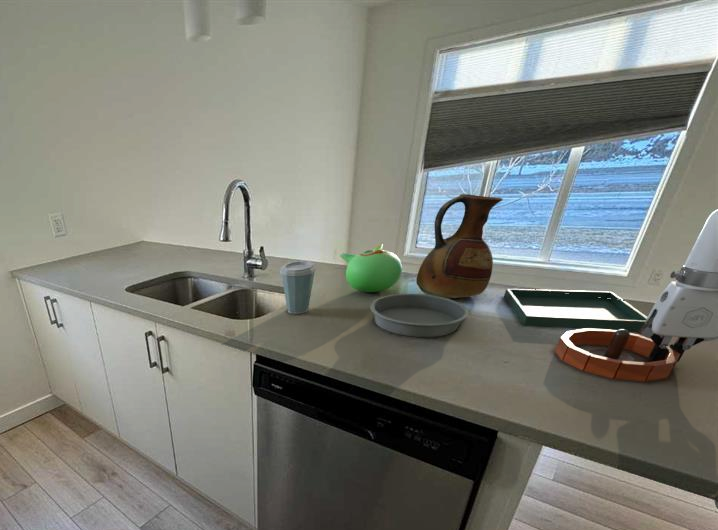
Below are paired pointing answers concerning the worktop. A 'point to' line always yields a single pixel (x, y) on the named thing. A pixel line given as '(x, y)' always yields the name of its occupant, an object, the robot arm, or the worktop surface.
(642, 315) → the tray
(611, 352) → the post
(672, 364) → the ring
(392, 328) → the cake pan
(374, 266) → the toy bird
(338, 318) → the worktop surface
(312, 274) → the disposable coffee cup
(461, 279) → the ceramic pitcher
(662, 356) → the robot arm
